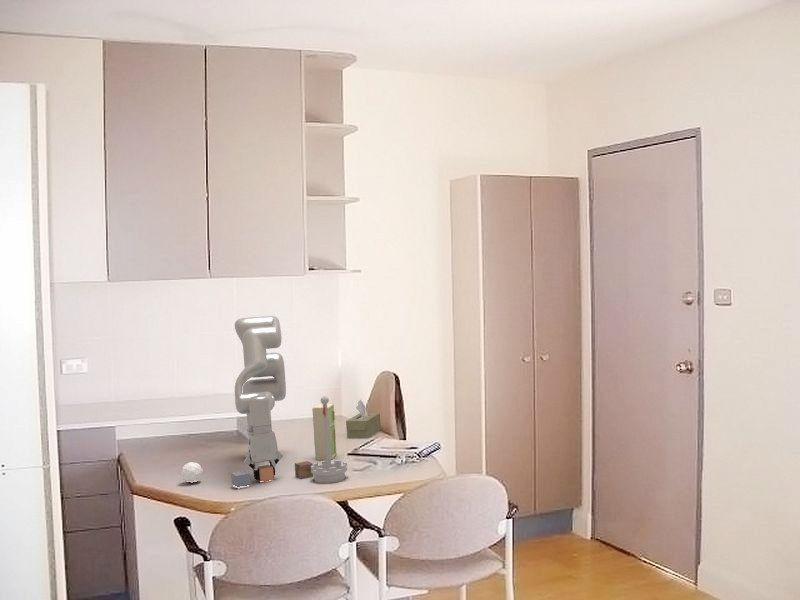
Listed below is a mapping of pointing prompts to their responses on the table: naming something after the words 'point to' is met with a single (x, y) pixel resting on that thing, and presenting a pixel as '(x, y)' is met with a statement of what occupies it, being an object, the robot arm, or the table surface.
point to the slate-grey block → (241, 478)
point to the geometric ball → (191, 471)
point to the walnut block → (303, 470)
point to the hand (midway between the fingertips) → (264, 478)
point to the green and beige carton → (320, 432)
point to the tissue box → (363, 424)
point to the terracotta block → (266, 473)
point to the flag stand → (328, 457)
